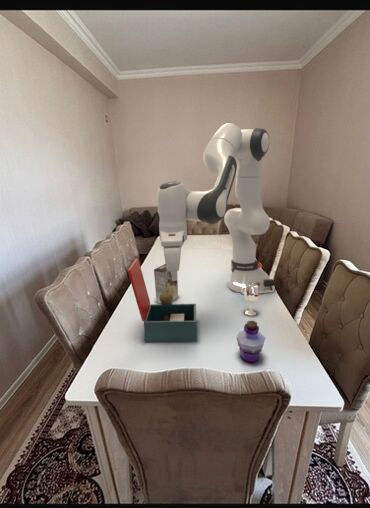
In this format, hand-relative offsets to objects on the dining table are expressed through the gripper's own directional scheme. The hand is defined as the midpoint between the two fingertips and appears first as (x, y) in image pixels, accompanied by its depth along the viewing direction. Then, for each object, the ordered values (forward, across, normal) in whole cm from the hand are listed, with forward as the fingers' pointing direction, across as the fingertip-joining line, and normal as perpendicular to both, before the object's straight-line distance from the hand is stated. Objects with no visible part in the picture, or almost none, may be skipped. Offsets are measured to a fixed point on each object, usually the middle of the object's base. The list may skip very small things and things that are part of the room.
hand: (175, 274), depth 85 cm
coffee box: (+23, -25, -6) cm, 34 cm away
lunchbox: (+22, 0, -2) cm, 22 cm away
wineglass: (+22, -12, +29) cm, 38 cm away
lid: (+5, 0, -12) cm, 13 cm away
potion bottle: (+23, +14, +23) cm, 35 cm away
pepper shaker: (+22, -8, -5) cm, 24 cm away
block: (+21, 0, 0) cm, 21 cm away
